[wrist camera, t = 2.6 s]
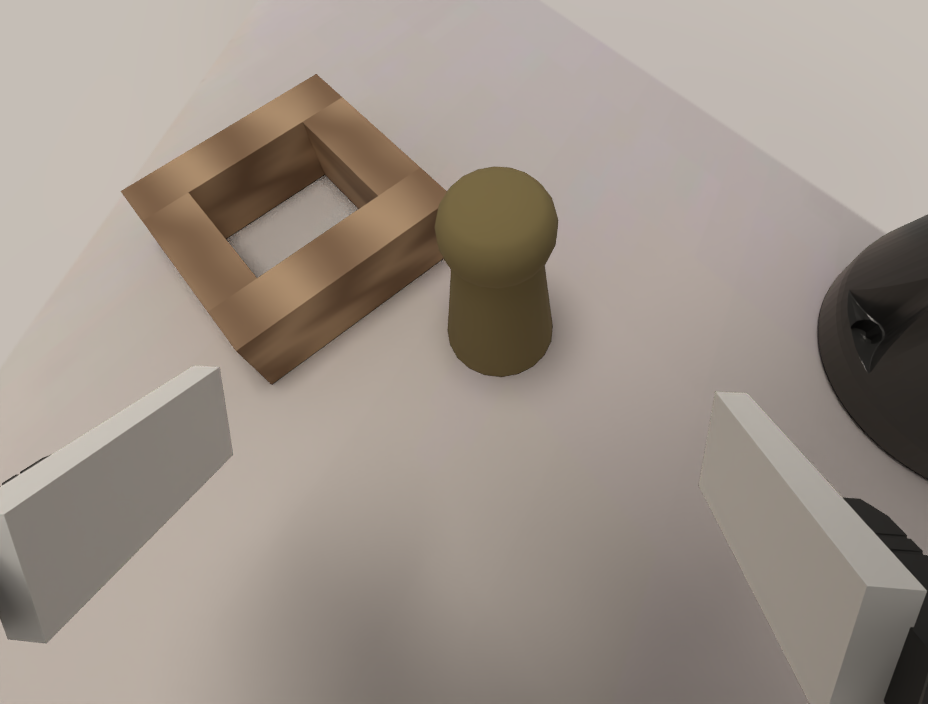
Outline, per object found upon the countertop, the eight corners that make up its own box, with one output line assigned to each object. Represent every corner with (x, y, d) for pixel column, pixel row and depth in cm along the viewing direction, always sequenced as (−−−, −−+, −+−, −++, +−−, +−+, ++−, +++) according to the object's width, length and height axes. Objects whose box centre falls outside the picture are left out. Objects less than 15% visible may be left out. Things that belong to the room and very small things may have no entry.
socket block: (336, 129, 40) (316, 74, 35) (460, 246, 34) (453, 197, 30) (164, 237, 36) (120, 191, 32) (271, 384, 31) (236, 350, 27)
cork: (447, 378, 31) (417, 267, 21) (448, 285, 33) (421, 147, 23) (556, 374, 30) (579, 259, 20) (548, 281, 33) (565, 138, 23)
